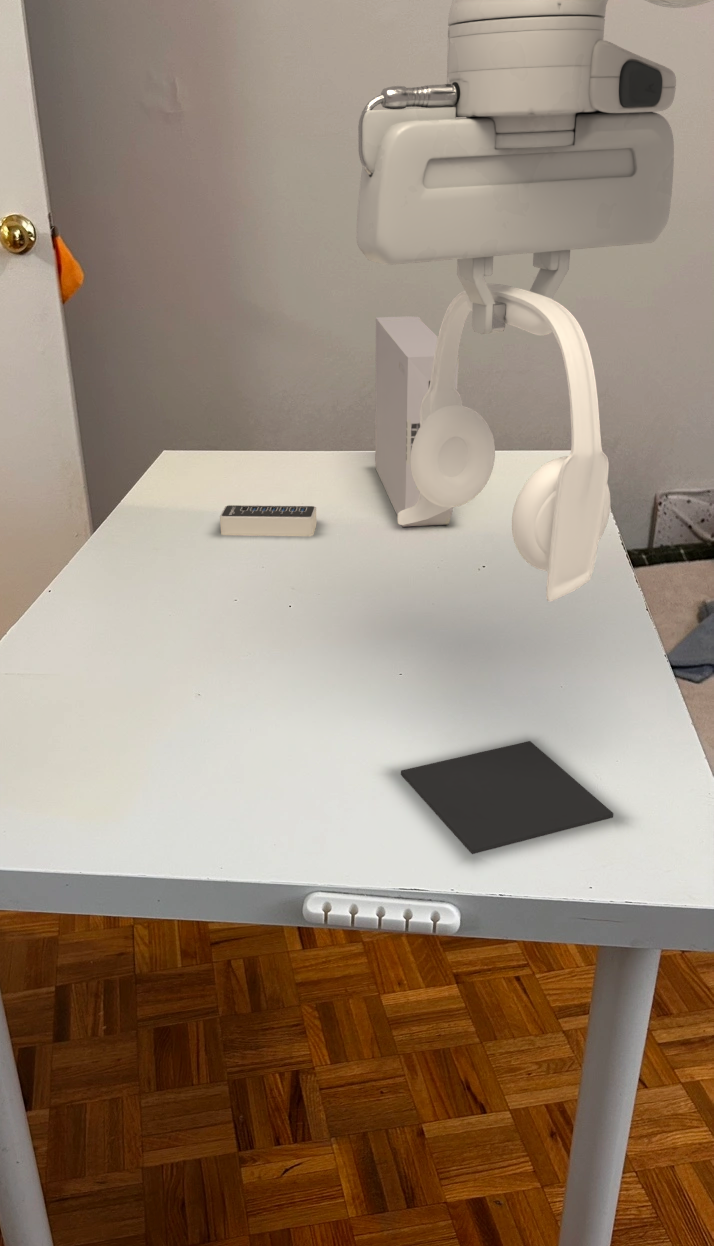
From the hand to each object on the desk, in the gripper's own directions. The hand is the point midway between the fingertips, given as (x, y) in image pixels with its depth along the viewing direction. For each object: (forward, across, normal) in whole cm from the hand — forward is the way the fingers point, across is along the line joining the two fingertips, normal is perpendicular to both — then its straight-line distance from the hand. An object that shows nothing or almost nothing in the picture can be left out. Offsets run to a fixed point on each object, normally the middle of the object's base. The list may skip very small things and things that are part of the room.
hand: (510, 329), depth 71 cm
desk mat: (+31, -3, -7) cm, 32 cm away
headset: (+15, 0, 0) cm, 15 cm away
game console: (+31, +21, +59) cm, 70 cm away
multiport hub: (+31, +1, +55) cm, 63 cm away
